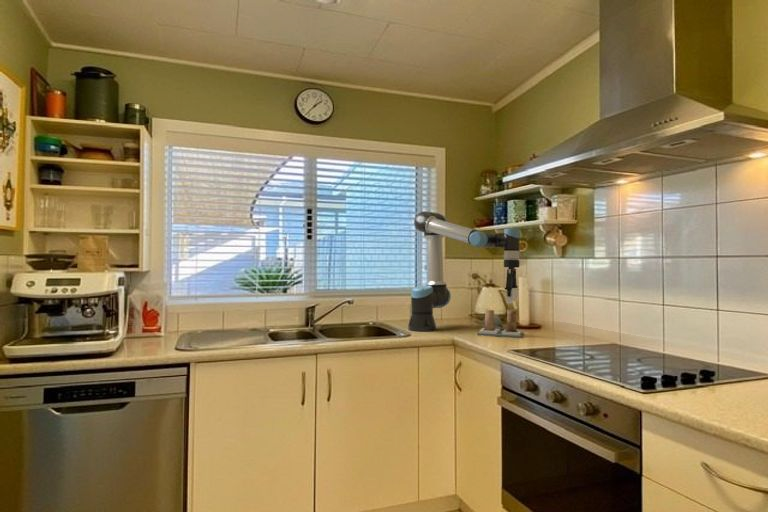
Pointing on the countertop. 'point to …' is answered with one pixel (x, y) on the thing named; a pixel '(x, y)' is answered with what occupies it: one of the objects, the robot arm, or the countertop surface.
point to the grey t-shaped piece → (491, 331)
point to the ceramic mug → (496, 323)
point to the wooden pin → (511, 321)
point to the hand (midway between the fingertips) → (511, 302)
